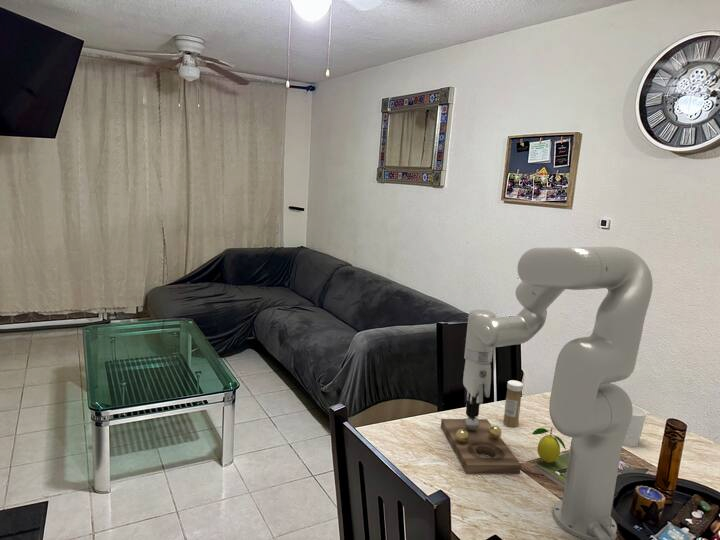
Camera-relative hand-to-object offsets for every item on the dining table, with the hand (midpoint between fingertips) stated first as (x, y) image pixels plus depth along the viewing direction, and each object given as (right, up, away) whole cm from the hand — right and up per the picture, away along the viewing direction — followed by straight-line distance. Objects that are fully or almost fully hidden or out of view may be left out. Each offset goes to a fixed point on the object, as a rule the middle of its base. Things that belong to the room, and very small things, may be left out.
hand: (471, 415), depth 138 cm
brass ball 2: (+5, -3, -4) cm, 8 cm away
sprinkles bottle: (+14, -6, +10) cm, 19 cm away
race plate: (0, -8, -5) cm, 9 cm away
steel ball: (0, -2, 0) cm, 2 cm away
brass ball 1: (-4, -3, -7) cm, 9 cm away
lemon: (+17, -10, -10) cm, 22 cm away
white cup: (+46, -9, +4) cm, 47 cm away
